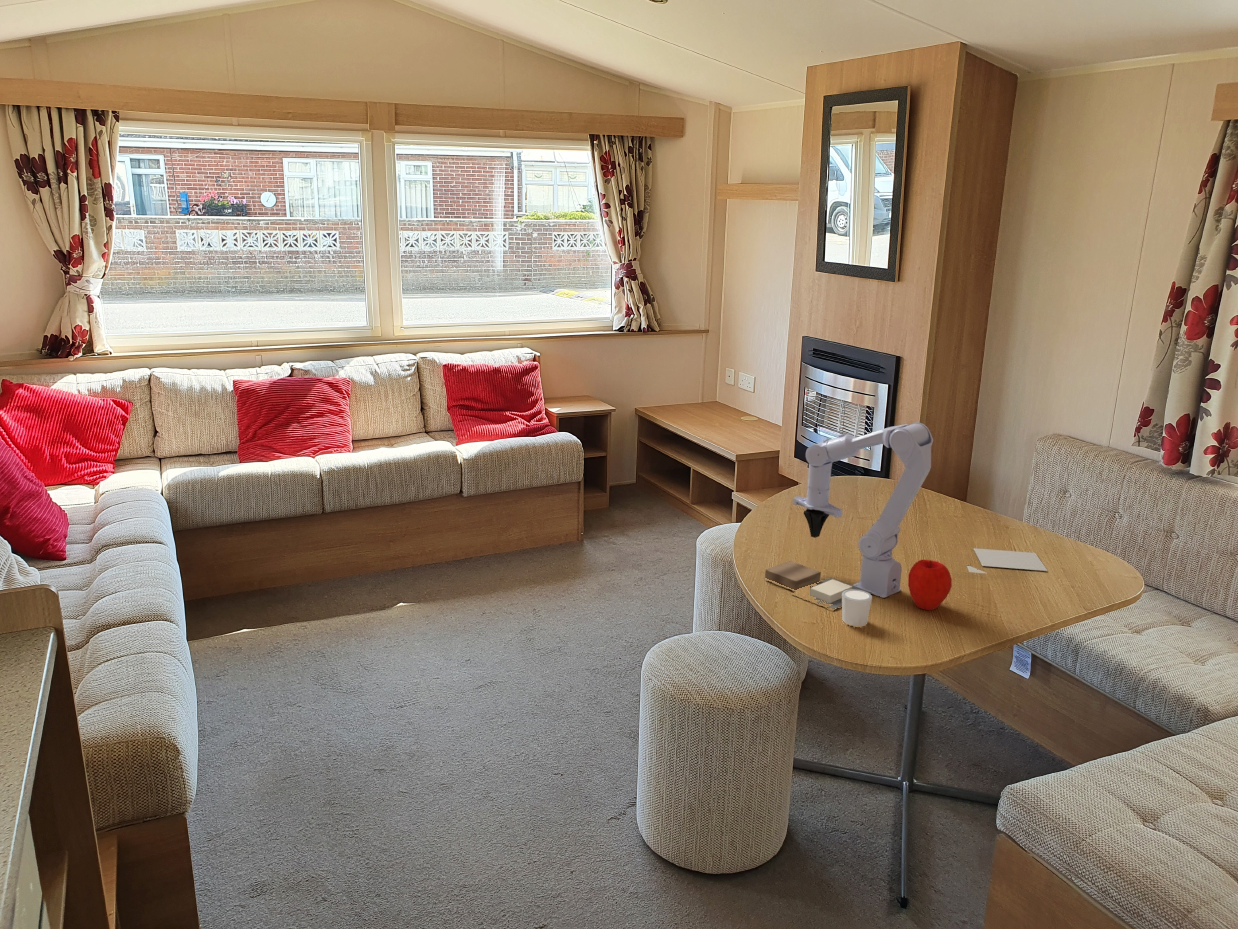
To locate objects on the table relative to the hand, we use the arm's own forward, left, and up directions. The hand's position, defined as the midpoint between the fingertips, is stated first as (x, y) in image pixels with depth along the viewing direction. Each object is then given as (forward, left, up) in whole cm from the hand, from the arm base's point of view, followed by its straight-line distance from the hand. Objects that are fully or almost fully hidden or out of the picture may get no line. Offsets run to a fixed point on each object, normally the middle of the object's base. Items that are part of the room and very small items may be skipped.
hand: (815, 536), depth 241 cm
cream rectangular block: (-14, +11, -7) cm, 19 cm away
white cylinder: (-27, +19, -10) cm, 34 cm away
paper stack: (-30, -42, -10) cm, 52 cm away
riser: (-2, +11, -9) cm, 15 cm away
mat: (-14, +10, -9) cm, 19 cm away
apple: (-33, -2, -10) cm, 34 cm away
